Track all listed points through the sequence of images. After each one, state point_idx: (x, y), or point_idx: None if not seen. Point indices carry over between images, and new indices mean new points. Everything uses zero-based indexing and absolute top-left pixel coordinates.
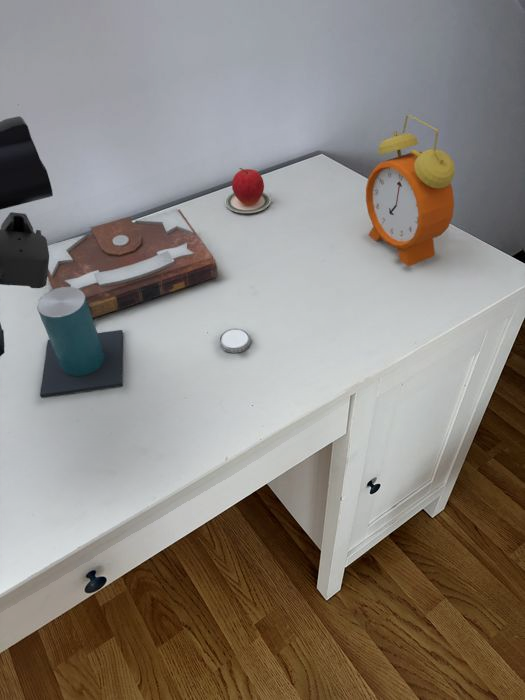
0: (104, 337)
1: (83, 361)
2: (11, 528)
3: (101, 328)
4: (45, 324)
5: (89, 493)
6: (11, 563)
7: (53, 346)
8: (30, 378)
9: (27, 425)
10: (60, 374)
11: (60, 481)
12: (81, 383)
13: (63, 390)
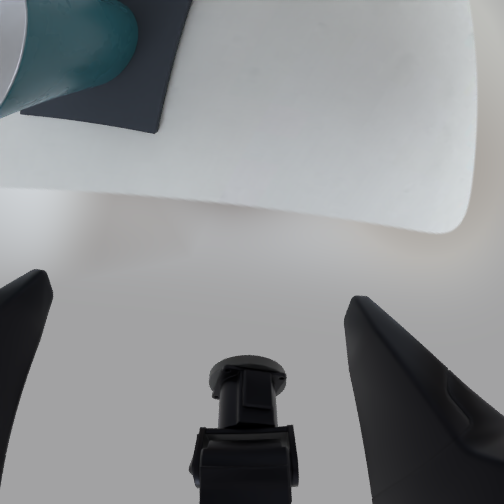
0: None
1: (123, 28)
2: (406, 221)
3: None
4: (24, 103)
5: (422, 107)
6: (445, 229)
7: (69, 91)
8: (99, 148)
9: (219, 164)
10: (114, 88)
11: (377, 139)
12: (159, 47)
13: (162, 85)
